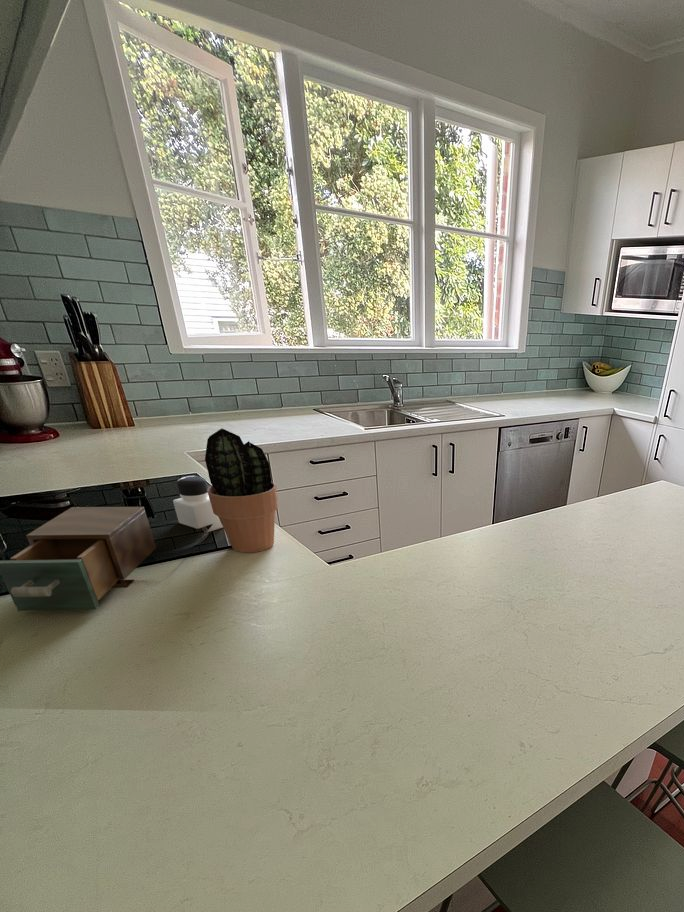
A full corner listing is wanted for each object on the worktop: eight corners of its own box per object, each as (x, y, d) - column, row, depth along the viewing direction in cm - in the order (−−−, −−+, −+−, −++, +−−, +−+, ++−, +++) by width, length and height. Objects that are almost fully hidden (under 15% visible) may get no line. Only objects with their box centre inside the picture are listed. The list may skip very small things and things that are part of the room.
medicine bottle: (225, 527, 131) (214, 477, 125) (199, 535, 126) (186, 484, 119) (206, 521, 134) (194, 472, 128) (180, 529, 129) (166, 478, 122)
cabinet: (126, 587, 103) (108, 534, 97) (49, 589, 101) (25, 535, 95) (158, 555, 116) (144, 506, 110) (90, 556, 114) (71, 507, 109)
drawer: (82, 622, 90) (63, 574, 85) (1, 624, 88) (-24, 575, 84) (131, 573, 106) (117, 530, 101) (63, 574, 104) (45, 531, 100)
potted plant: (274, 558, 116) (252, 436, 103) (210, 556, 116) (180, 434, 103) (292, 535, 128) (274, 423, 115) (233, 533, 128) (209, 420, 114)
